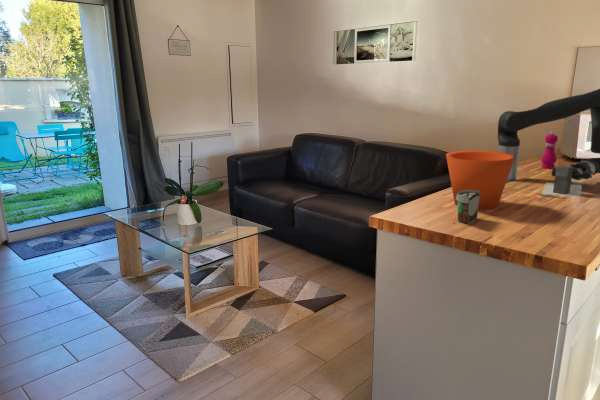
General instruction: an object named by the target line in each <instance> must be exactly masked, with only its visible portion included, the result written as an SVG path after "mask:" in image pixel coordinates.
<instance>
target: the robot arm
mask: <svg viewBox="0 0 600 400" xmlns="http://www.w3.org/2000/svg"><path fill="white" fill-rule="evenodd" d="M587 110H590V121H591V141H590V152H591V153H593V154H600V88H597V89H595V90H593V91H590V92H586V93H583V94H577V95H572V96H568V97H567V96H566V97H564V98H563V97H562V98H560V99H559V98H558V99H555V100H552V101H548V102H545V103H543V104H541V105H540V106H538V107H535V108H533V109H528V110H523V111H512V110H508V111H504V112H503V113H501V115H500V116H499V118H498V122H497V140H498V145H497V146H498V147H497V152H503V153H508V154H512V155H514V156H515V159H514V162H513V165H512V167H511V170H510V173H509V176H508V179H507V181H506V183H511V182H514V181H515V182H516V181H517V177H518V176H517V174H518V166H519V165H518V163H519V153H520V146H521V145H520V144H521V139H520V138H519V135H518V132H519V131H521V130H525V129H527V128H531V127H533V126H535V125H539V124H540V125H541V124H546V123H551V122H554V121H559V120H563V119H567V118H570V117H572V116H573V117H574V116H575V115H577V114H580V113H582V112H585V111H587ZM569 167H573V172H572V180H574V181H575V180H576V181H581V180H589V179H591V178H593V176H595V175H597V174H600V157H591V158H587V159H586V160H582V161H578V162H575V163H572V164H571V165H569ZM555 173H556V167H555V168H553V169H551V177H555Z"/></svg>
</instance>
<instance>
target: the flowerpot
mask: <svg viewBox="0 0 600 400" xmlns="http://www.w3.org/2000/svg"><path fill="white" fill-rule="evenodd" d="M445 158H446V161H447V168H448V173H449V178H450V183H451V184H450V185H451V190H452V195H453V201H454V204H455V205H456V206H457V205H458V201H457V200H456V196H457V194H458V192H460V191H465V190H477V191H480V197H479V206H478V209H488V210H493V208H494V209H496V208H497V207H499V204H500V200H501V198H502V194H503V193H504V190H505V187H506V185H507V182H506V181H507V179H508V176H509V173H510V170H511V167H512V165H513V162H514V159H515V156H514V155H512V154H508V153H503V152H498V151H494V150H476V149H475V150H472V149H471V150H457V151H456V150H454V151H451V152H446V154H445Z"/></svg>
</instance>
